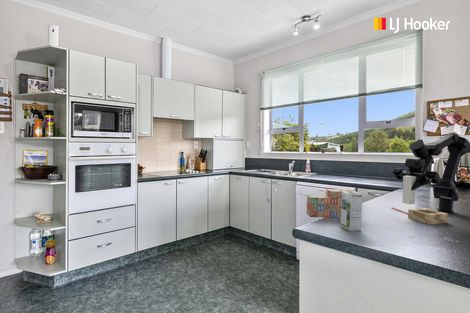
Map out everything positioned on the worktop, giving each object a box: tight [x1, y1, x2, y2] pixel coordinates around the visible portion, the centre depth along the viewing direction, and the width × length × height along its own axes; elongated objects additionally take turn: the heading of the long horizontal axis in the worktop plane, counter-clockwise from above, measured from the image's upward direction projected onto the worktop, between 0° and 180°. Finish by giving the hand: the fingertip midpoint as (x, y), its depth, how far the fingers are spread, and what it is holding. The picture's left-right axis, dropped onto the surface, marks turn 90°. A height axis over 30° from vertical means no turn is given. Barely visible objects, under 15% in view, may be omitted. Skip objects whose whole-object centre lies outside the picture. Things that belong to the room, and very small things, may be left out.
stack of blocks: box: [306, 188, 357, 219], centre depth 120 cm, size 21×6×12 cm, turn 90°
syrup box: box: [340, 190, 363, 232], centre depth 102 cm, size 6×6×14 cm
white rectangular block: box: [402, 176, 417, 205], centre depth 118 cm, size 4×4×12 cm
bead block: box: [407, 207, 449, 225], centre depth 115 cm, size 10×10×4 cm
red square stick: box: [391, 207, 408, 215], centre depth 130 cm, size 14×1×1 cm, turn 1°
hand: (407, 189), depth 118 cm, fingers closed on white rectangular block, 3 cm apart
